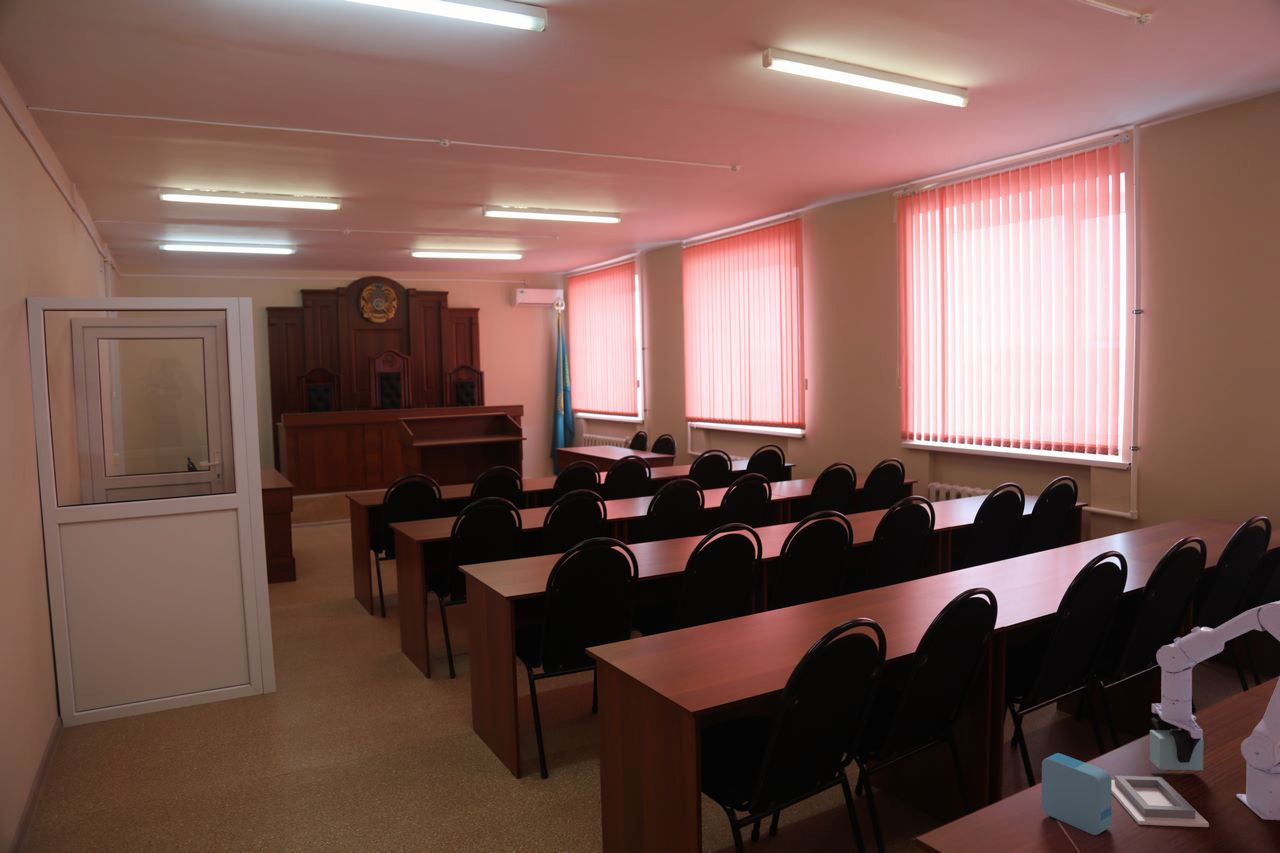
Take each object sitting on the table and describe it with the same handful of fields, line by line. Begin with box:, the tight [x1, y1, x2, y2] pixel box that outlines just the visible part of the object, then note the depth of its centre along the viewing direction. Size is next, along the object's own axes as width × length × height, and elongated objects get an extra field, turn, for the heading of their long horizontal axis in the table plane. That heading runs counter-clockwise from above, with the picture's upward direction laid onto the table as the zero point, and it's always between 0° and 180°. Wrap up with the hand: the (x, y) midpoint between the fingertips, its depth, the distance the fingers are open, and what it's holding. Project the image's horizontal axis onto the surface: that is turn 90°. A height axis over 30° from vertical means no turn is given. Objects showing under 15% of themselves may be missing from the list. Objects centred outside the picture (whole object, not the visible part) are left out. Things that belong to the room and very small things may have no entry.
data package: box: [1041, 752, 1113, 836], centre depth 168 cm, size 12×4×12 cm, turn 33°
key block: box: [1149, 727, 1204, 771], centre depth 186 cm, size 4×9×8 cm, turn 84°
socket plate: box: [1111, 775, 1210, 828], centre depth 174 cm, size 17×13×2 cm
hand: (1176, 756), depth 186 cm, fingers closed on key block, 5 cm apart
